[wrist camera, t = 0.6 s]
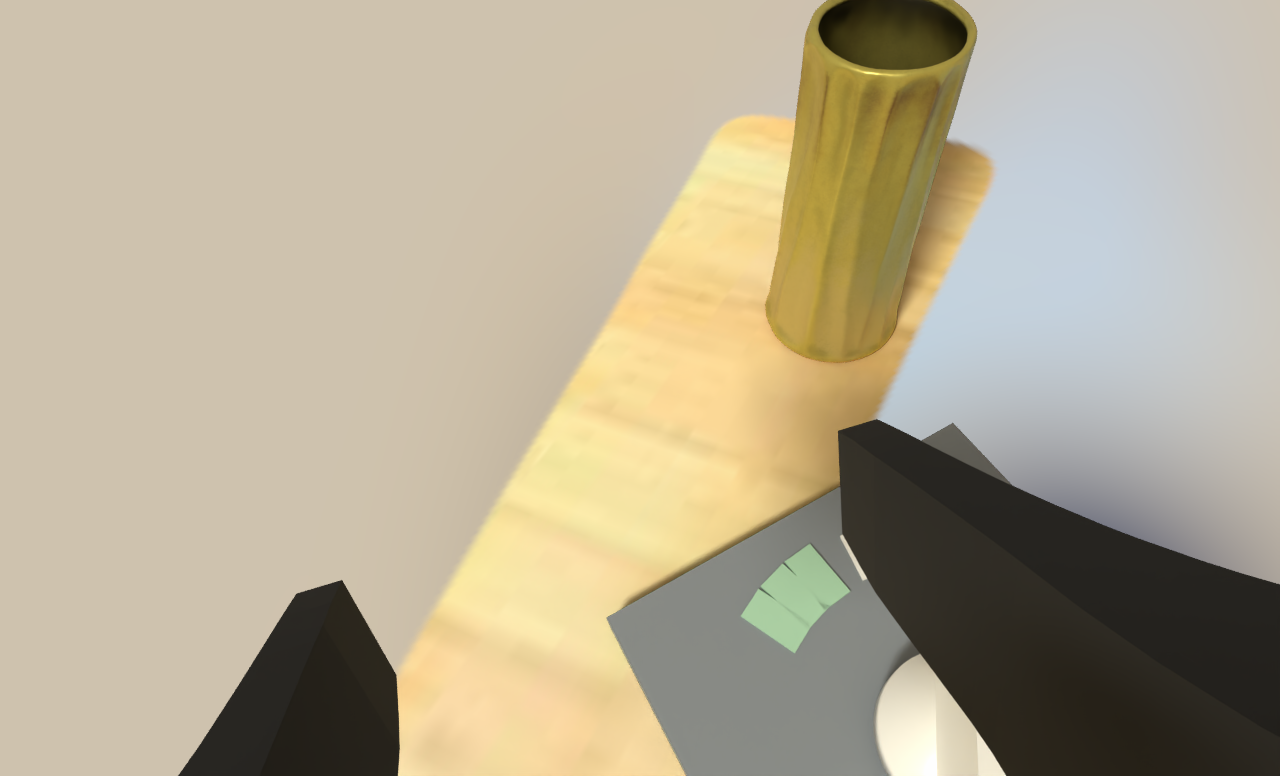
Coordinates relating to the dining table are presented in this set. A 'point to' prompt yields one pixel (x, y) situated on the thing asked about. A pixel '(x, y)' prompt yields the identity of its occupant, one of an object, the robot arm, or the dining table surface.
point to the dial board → (774, 648)
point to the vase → (863, 167)
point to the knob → (926, 728)
